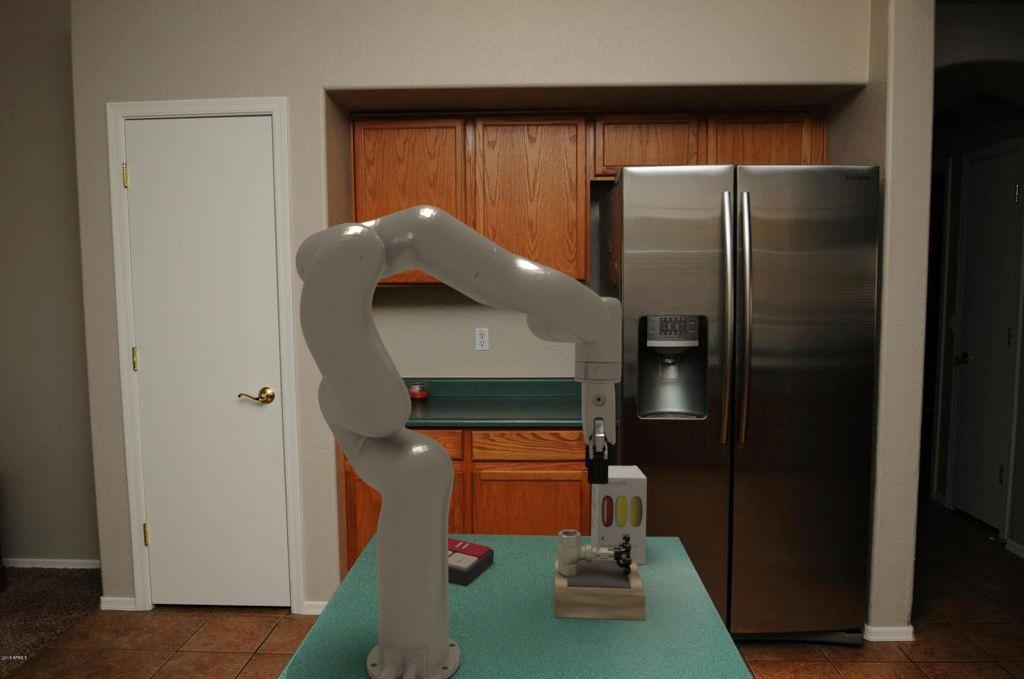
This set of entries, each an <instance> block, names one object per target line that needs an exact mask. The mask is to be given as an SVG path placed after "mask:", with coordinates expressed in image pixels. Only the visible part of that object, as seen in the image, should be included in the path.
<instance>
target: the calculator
mask: <svg viewBox="0 0 1024 679" xmlns="http://www.w3.org/2000/svg"><path fill="white" fill-rule="evenodd" d="M494 552H495V551H494V549H492V547H491V546H487V545H483V544H479V543H475V542H474V543H473V542H470V541H465V540H461V539H458V538H451V537H448V584H453V585H457V586H458V585H459V586H463V587H468V586H469V585H470V584H472V583H473V582H474V581H475V580H476V579H477V578H479V576H481V575H482V574H483V573H484V572H485V571H486V570H488V569H489V568H490V567H491V566H493V564H494V554H495V553H494Z"/></svg>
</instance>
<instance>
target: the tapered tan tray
mask: <svg viewBox="0 0 1024 679" xmlns="http://www.w3.org/2000/svg"><path fill="white" fill-rule="evenodd" d="M631 560H632V564H631V565H630V567H631V574H623V569H626V568H622V567H619V566H618V565H617V563H616V560H614V558H608V559H599V557H596V559H592V562H591V563H590V562H585V560H581V561H580V562H581V572H580V573H579V574H578V575H575V576H566V575H563V574H561V573H560V572H559V571H558V561H559V559H558V556H557V555H556V556H555V566H554V567H555V568H554V569H555V570H554V575H555V576H554V618H571V619H572V618H573V619H574V618H575V619H599V620H602V619H603V620H628V621H646V592H645V589H644V586H643V583H642V578H641V576H640V572H639V569H638V566H637V565H638V564H636V561H635V558H631ZM620 563H622V560H620Z"/></svg>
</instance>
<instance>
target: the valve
mask: <svg viewBox="0 0 1024 679" xmlns="http://www.w3.org/2000/svg"><path fill="white" fill-rule="evenodd" d="M622 540H624V542H620V543H618V544H617V545H616V548H614V549H613V551H610V550H608V548H599V550H596V548H593V547H592V544H591V543H585V544H584V545H581V544H582V534H581V532H580V531H578V530H575V529H563V530H560V531H559V532H558V533H557V542H558V543H559V544H558V545H557V547H556V548H557V549H556V556H558V559H559V561H558V571H559V572H560V573H561V574H563V575H566V576H575V575H578V574H579V573H580V572H581V562H580V561H581V560H585V562H590V563H591V562H592V559H596V557H599V559H608V557H614V560H616V563H617V565H618V566H619V567H622V568H626V569H623V574H631V567H630V565H631V564H632V560H631V557H630V551H631V544H629V542H630V535H629V534H624V535H622ZM619 547H622V548H619ZM620 560H622V563H620Z"/></svg>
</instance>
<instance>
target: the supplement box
mask: <svg viewBox="0 0 1024 679" xmlns="http://www.w3.org/2000/svg"><path fill="white" fill-rule="evenodd" d="M647 478H648V477H646V475H645V474H644V473H643V471H642V470H641V469H640V468H639V467H638V466H637V465H608V484H591V524H590V525H591V526H590V528H591V530H590V534H591V535H590V544H592V547H593V548H596V550H599V548H608V550H610V551H613V549H614V548H616V545H617V544H618V543H620V542H624V540H622V535H624V534H629V535H630V542H629V544H631V551H630V557H631V558H635V561H636V565H646V547H647V545H646V541H647V540H646V539H647V498H648V497H647V495H648V494H647V490H648V489H647V486H648V483H647V482H648V481H647V480H648V479H647ZM619 548H622V547H619ZM608 558H614V557H608Z"/></svg>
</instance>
